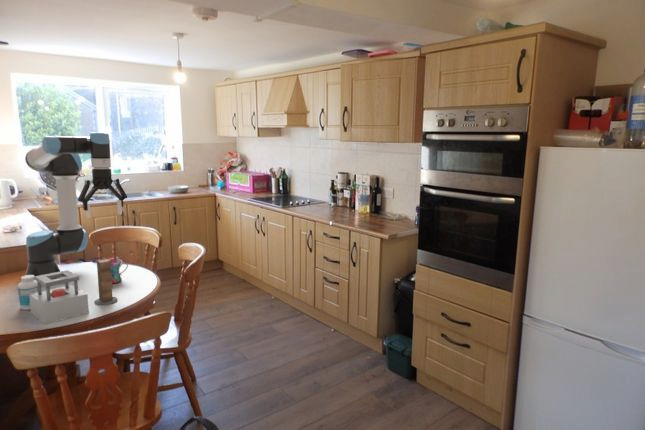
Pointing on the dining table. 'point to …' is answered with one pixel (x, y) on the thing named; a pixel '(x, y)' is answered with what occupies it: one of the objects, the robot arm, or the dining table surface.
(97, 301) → the pad
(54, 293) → the breaker button
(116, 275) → the mug
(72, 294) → the box
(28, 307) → the pill bottle
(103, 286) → the brown wooden block
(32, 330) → the dining table surface
